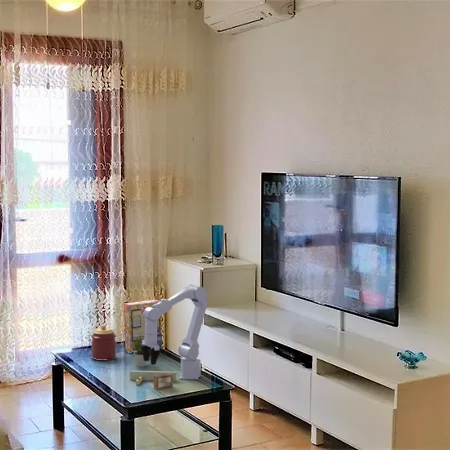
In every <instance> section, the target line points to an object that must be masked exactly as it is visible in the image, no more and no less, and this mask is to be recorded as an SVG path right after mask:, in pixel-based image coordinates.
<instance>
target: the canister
mask: <svg viewBox="0 0 450 450" xmlns="http://www.w3.org/2000/svg"><path fill="white" fill-rule="evenodd" d="M100 326H101V327H99V328H98V327H97V328H96V329H95V330H93V331H92V335H91V336H90V337H91V342H90V343H91V358H92V357H93V358H96V359H112V358H114V359H116V358H117V348H116V347H117V341H116V337H117V335H116V334H115V330H114V329H113V328H110V327H107V326H106V324H102V325H100ZM115 357H116V358H115ZM112 360H113V359H112Z"/></svg>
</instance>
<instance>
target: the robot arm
mask: <svg viewBox="0 0 450 450" xmlns="http://www.w3.org/2000/svg"><path fill="white" fill-rule="evenodd" d="M207 297H208V292H207V291H206V289H205V287H203V286H198V285H194V284H189V285H187V286H185V287H184V288H183V289H182V290H180V291H179V292H177V293H176V294H174V295H172V296H171V297H170V298H168V299H167V298H161V299H160V302H159V303H157V304H155V305H152V307H148V308H146V309H145V311H144V313H143V316H144V318H145V339H144V340H142V345H143V346H140V348H141V350H142V353H143V358H144V361H146V362H149V361H150V365H151V366H152V365H153V366H154V365H156V364H157V361H158V358H159V356H160V353H161V352H162V350H161V348H159V346H158V344H157V323H158V319H159V318H160V316H161V317H162V315H164V314H166V313H167V312H170V310H172V307H173V306H174V305H176V304H178V303H180V302H182V301H184V300H185V299H189V300H190V301H191V302H192V304H193V305H194V308H193V311H192V316H191V319H190V323H189V325H188V326H189V327H188V329H187V330H188V331H187V334H186V337H185V338H184V339H182V342H181V344H180V345H179V347H178V349H177V352H178V354H179V355H180V376H179V377H178V378H179V380H199V379H200V378H201V376H202V374H201V373H202V369H201V368H202V367H201V366H202V365H201V363H202V362H201V359H200V358H198V356H199V355H200V354H199V352H200V351H199V350H200V345H199V342H198V340H199V339H198V338H199V336H200V332H201V328H202V325H203V321H204V318H205V314H206V310H207V307H208V302H207V299H208V298H207ZM151 348H152V349H151ZM200 375H201V376H200ZM199 377H200V378H199ZM198 378H199V379H198Z"/></svg>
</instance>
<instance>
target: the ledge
mask: <svg viewBox="0 0 450 450" xmlns="http://www.w3.org/2000/svg"><path fill="white" fill-rule="evenodd" d="M166 373H171V374H172V375H173V382H176V381H177V371H161V370H160V371H157V370H156V371H155V370H152V371H151V370H129V380H130V381H133V380H134V381H135V385H136V386H140V385H141V383H142V382H143V381H154V375H159V374H166Z"/></svg>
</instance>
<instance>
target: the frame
mask: <svg viewBox="0 0 450 450" xmlns="http://www.w3.org/2000/svg"><path fill="white" fill-rule="evenodd" d="M173 382H174V381H173V375H172V374H171V373H166V374H159V375H154V380H153V389H154V390H158V391H159V390H163V389H169V388H173V385H174V384H173Z"/></svg>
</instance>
